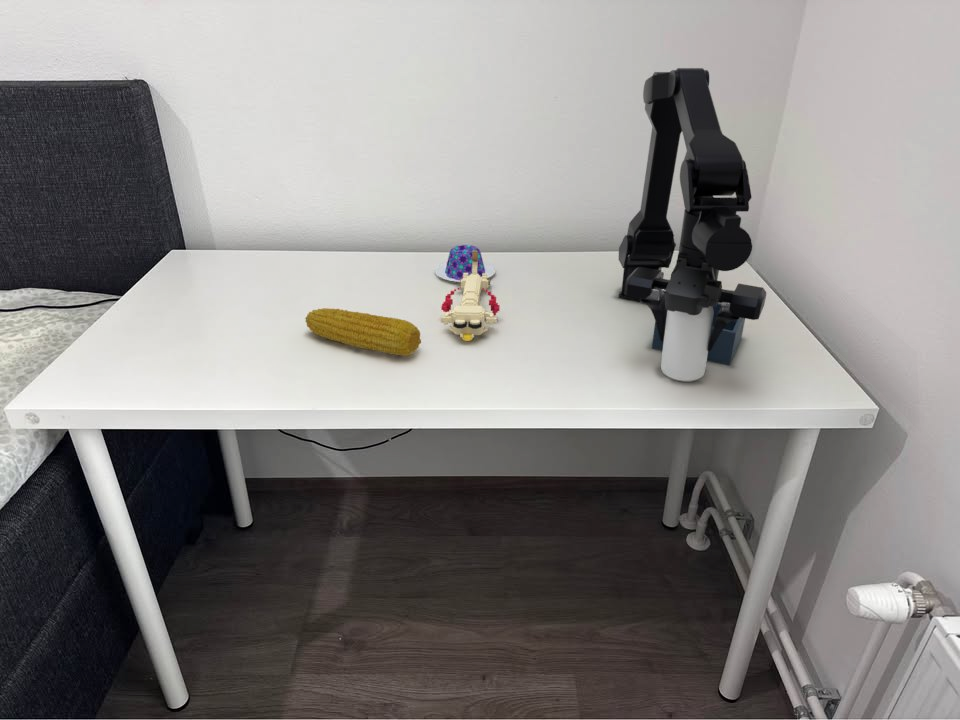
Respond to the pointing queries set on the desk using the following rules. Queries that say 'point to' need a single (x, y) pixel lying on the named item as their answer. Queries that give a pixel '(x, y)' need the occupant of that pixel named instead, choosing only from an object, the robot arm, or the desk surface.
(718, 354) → the bin
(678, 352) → the can
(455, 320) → the cream brick animal figure
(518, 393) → the desk surface
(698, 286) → the robot arm
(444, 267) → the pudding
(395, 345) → the food
